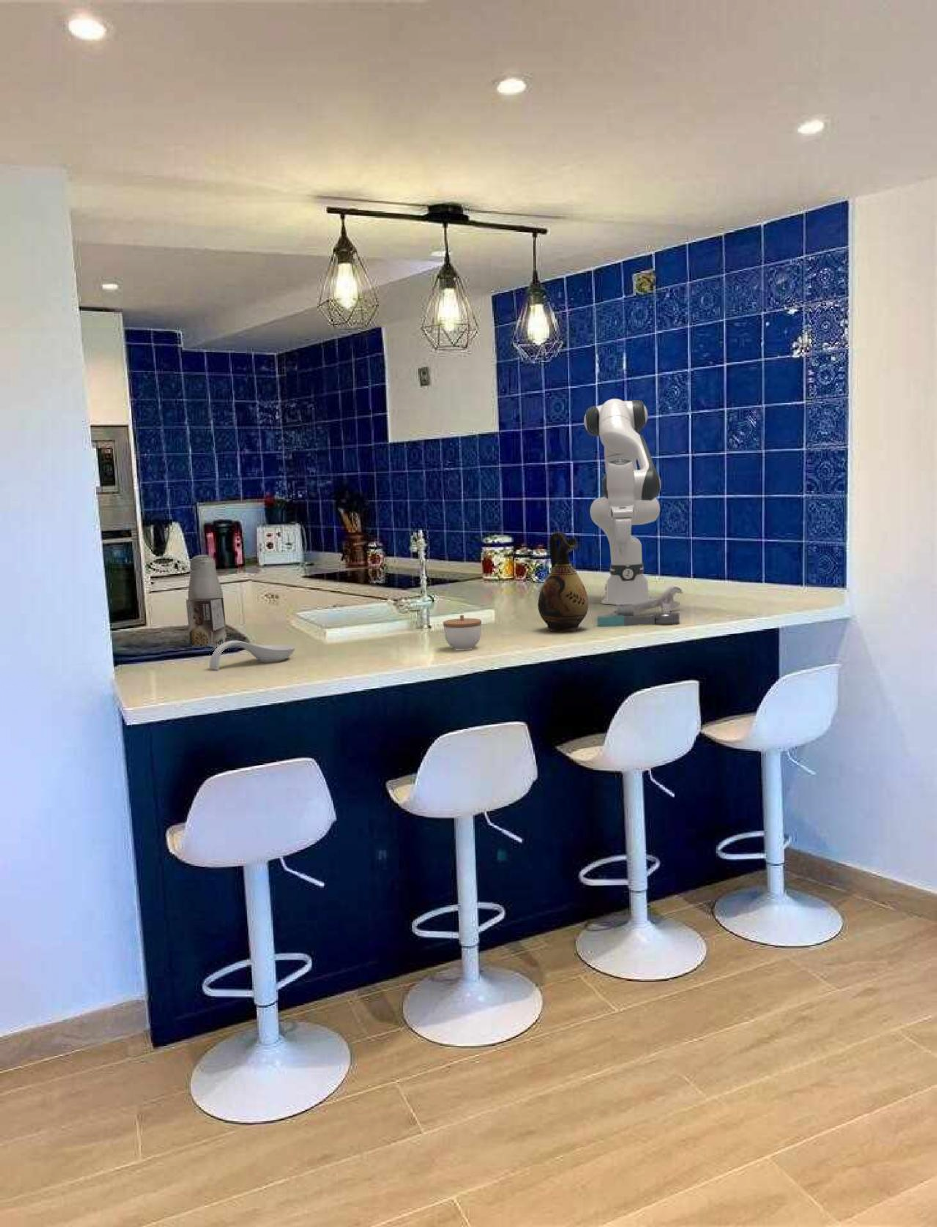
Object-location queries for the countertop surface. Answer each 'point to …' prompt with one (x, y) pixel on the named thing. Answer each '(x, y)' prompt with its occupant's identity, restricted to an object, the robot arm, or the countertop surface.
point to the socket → (625, 609)
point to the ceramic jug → (562, 589)
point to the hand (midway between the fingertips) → (623, 555)
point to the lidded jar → (462, 632)
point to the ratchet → (641, 618)
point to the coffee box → (206, 621)
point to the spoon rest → (254, 652)
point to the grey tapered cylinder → (203, 579)
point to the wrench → (656, 601)
